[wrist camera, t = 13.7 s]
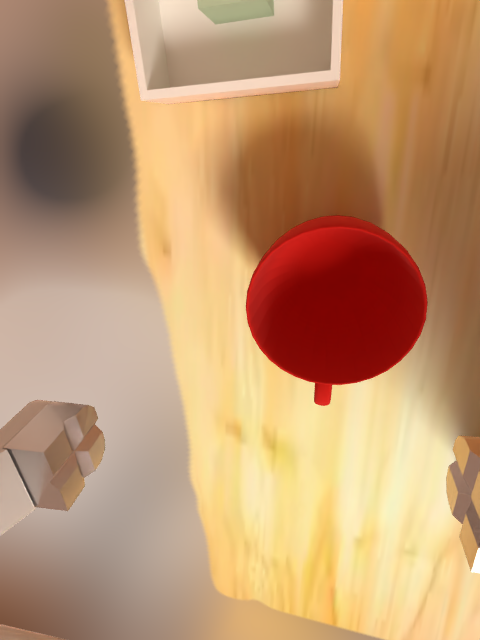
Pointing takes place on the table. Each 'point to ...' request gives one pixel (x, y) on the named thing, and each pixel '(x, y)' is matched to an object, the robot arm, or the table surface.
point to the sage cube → (235, 9)
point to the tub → (233, 50)
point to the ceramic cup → (336, 302)
